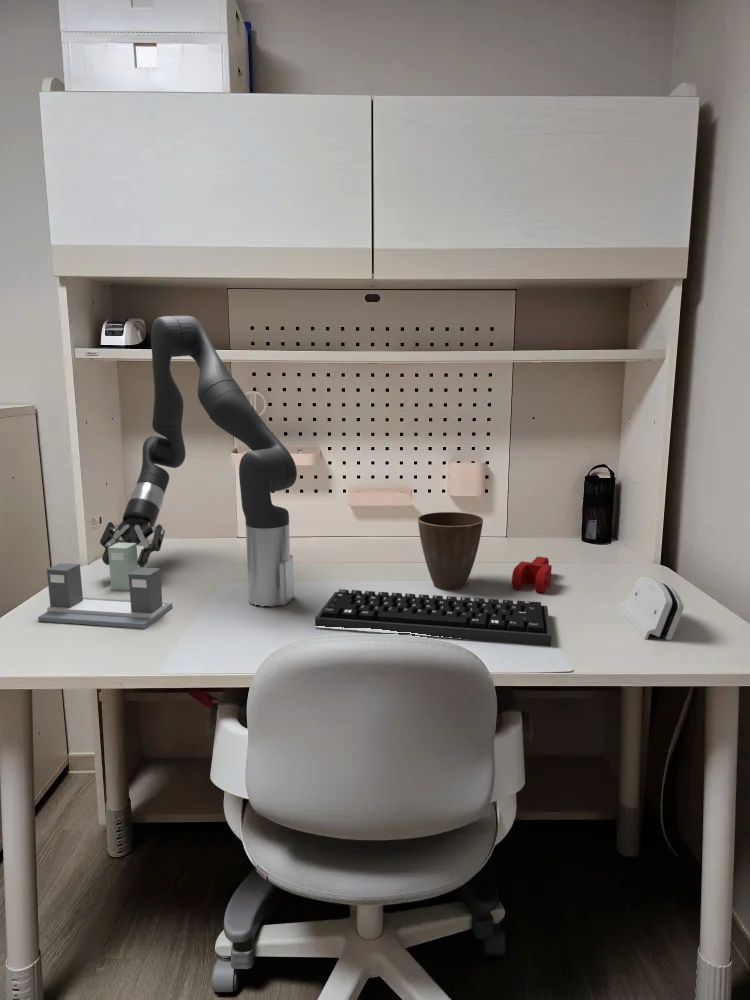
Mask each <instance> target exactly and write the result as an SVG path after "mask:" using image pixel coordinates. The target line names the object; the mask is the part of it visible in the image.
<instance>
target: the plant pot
mask: <svg viewBox="0 0 750 1000" xmlns="http://www.w3.org/2000/svg"><path fill="white" fill-rule="evenodd" d="M417 522H418V530H419V532H418V533H419V538H420V543H421V548H422V551H423V556H424V559H425V564H426V567H427V570H428V572H429V573H428V574H429V576H430V578H431V581H432V584H433V586H434V587H436V588H437V589H440V590H446V591H449V590H450V591H453V590H454V591H455V590H459V589H463V588H465V587H466V586H467V582H468V580H469V578H470V575H471V572H472V570H473V567H474V563H475V561H476V557H477V554H478V549H479V545H480V540H481V535H482V529H483V524H484V519H483V517H481V516H479V515H477V514H472V513H467V512H457V511H456V512H455V511H441V512H440V511H439V512H430V513H425V514H422V515H420V516H418V517H417Z"/></svg>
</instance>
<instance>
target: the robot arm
mask: <svg viewBox="0 0 750 1000" xmlns="http://www.w3.org/2000/svg"><path fill="white" fill-rule="evenodd" d="M150 339H151V341H150V344H151V358H152V360H151V361H152V373H153V374H152V375H153V385H154V396H153V397H154V401H153V411H152V423H151V426H152V429H153V431H154V432H155V433H157V434H159V435H160V436H158V435H157V436H156V435H150V436H149V437H147V438H146V439H145V440H144V442H143V445H142V461H141V462H142V463H141V470H140V473H139V476H138V478H137V481H136V484H135V486H134V488H133V490H132V492H131V494H130V497H129V500H128V502H127V505H126V507H125V510H124V513H123V515H122V521H121V523H120V524H114V523H113V522H111V521H110V522H108V523H107V525H106V527H105V529H104V531H103V533H102V536H101V538H100V540H99V544H100V545H101V546H102V547H103V548H104V552H103V553H102V557H101V559H102V562H103V563H104V565H106V566H109V555H108V547H110V546H112V545H114V544H116V543H118V542H120V543H136V545H139V544H142V547H143V548H141V550H140V553H139V556H138V557H137V559H138V561H137V564H138V567H139V568H145V565H147V564H148V561H149V558H150V555H151V554H152V552H160V551H161V547H162V544H163V541H164V537H165V533H166V531H165V529H164V527H163V526H162V524H156V523H157V520H158V517H159V514H160V511H161V508H162V505H163V501H164V497H165V496H164V495H165V494H166V490H167V487H168V485H169V483H170V474H169V473H168V471H166V469H165V468H163V467H168V468H172V469H176V468H179V467H180V466H182V465H183V464H184V462H185V460H186V447H185V442H184V438H183V431H182V426H183V425H182V423H183V415H184V399H183V395H182V393H181V391H180V389H179V387H178V385H177V384H176V382H175V380H174V377H173V375H172V372H171V362H172V358H174V357H175V358H177V357H191V358H192V359H193V360H194V361H195V363H196V365H197V366H198V369H199V376H198V381H197V396H198V397H197V398H198V400H199V403H200V404H201V406H202V407H203V409H204V411H205V412H206V414H207V415H208V417H209V418H210V419H211V421H212V422H213V423H214V424H215V425H216V426H218V427H219V428H220V429H222V430H223V431H224V432H225V433H228V434H229V435H230V436H232V437H234V438H236V439H237V440H239V441H240V442H242V443H243V444H244V445H246V446H247V447H248V448H249V449H250V451H246V452H245V453H244V454H243V455H242V457H241V458H240V461H239V466H238V476H239V477H238V479H239V488H240V489H239V490H240V497H241V498H240V499H241V500H240V501H241V509H242V512H243V516H244V518H245V536H246V537H245V541H246V562H247V564H246V566H247V587H248V589H247V594H248V602H249V603H250V604H252V605H253V604H254V605H253V606H256V605H260V606H259V607H264V606H270V607H276V606H275V605H278V606H287V605H288V604H289V603H288V602H290V601H292V599H293V598H294V597H295V590H294V585H295V584H294V580H295V579H294V556H293V555H292V554H291V545H290V544H291V543H290V513H289V510H288V509H286V508H284V507H282V506H279V505H278V506H277V505H274V504H273V502H272V496H271V493H273V492H279V491H284V490H287V489H289V488H291V487H292V486H294V484H295V483H296V481H297V476H298V470H297V465H296V463H295V461H294V458H293V455H292V454H291V453H290V451H288V449H287V448H286V446H285V445H284V444H283V443H282V442H281V441H280V440H279V439H278V437H277V436H276V435H275V434H274V433H273V431H271V429H270V428H269V427H268V425H267V424H266V423H265V422H264V420H263V419H262V417H261V416H260V415H259V413H258V412H257V411H256V409H255V408H254V407H253V405H252V404H251V402H250V401H249V398H247V396H246V394H245V393H244V391H243V390H242V388H241V387H240V385H239V384H238V382H237V381H236V380H235V379H234V377H233V376H232V374H231V373H230V371H229V369H228V368H227V367H226V365H225V364H224V363H223V361H222V359H221V357H220V356H219V354H218V353H217V350H216V348H215V346H214V344H213V343H212V341H211V339H210V337H209V335H208V333H207V331H206V330H205V328H204V327H203V325H202V323H201V322H200V321H199V320H198V319H197V318H196V317H194V316H192V315H166V316H165V315H164V316H159V317H157V318H156V319H155V320H154V321H153V323H152V327H151V336H150ZM161 436H162V437H161ZM160 466H162V467H160ZM155 525H156V526H155ZM152 534H153V536H152V539H151V540H152V541H151V543H150V542H149V539H148V538H149V537H150V536H151V535H152ZM120 538H121V539H120ZM293 596H294V597H293ZM287 603H288V604H287ZM286 604H287V605H286Z"/></svg>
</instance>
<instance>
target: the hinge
mask: <svg viewBox="0 0 750 1000" xmlns="http://www.w3.org/2000/svg"><path fill="white" fill-rule="evenodd" d="M684 608H685V606H684V603H683V600H682V599H681V596H680V595H679V593H678V592H677V591H676V590H675V589H674V588H673V587H672V586H671V585H669V584H667V583H666V582H665V581H661V580H658V579H657V578H653V577H648V576H640V577H638V579H637V580H636V583H635V584H634V586H633V588H632V590H631V591H630V593H629V596H628V597H627V599H624V600H622V601H620V602H619V605H618V606H617V609H616V610H617V611H618V612H619V613H620V614H621V615H622V617H623V618H624V619H625V620H626V621H627V622H628V623H629V625H631V627H632V628H633V629H634V630H635V631H636V632H637V634H638V635H640V637H641V638H642V639H643V640H645V641H646V640H648V638H649V636H650V635H652V636H653V635H654V636H656V637H657V638H660V637H663V638H664V639H665V640H667V641H672V639H673V637H674V634H675V631H676V629H677V626H678V624H679V622H680V619H681V616H682V614H683V611H684Z"/></svg>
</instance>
